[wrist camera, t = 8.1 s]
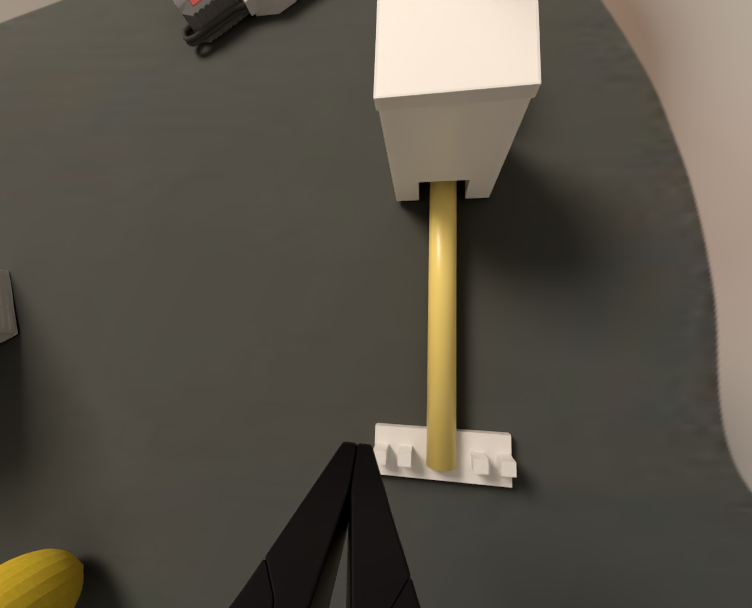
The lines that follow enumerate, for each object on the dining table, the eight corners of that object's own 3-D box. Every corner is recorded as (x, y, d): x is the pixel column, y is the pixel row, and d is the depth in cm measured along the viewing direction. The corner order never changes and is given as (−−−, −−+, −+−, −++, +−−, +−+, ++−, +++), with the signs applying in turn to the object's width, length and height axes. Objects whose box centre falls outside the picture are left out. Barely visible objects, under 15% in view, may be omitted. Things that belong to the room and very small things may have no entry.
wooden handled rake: (509, 483, 19) (518, 498, 17) (375, 470, 21) (370, 483, 19) (502, 102, 23) (509, 79, 21) (387, 111, 24) (383, 90, 22)
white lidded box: (490, 198, 22) (540, 83, 12) (395, 202, 23) (373, 98, 13) (489, 129, 22) (536, -31, 13) (397, 136, 23) (377, -8, 14)
